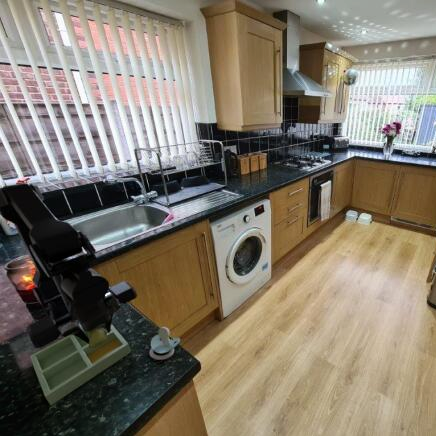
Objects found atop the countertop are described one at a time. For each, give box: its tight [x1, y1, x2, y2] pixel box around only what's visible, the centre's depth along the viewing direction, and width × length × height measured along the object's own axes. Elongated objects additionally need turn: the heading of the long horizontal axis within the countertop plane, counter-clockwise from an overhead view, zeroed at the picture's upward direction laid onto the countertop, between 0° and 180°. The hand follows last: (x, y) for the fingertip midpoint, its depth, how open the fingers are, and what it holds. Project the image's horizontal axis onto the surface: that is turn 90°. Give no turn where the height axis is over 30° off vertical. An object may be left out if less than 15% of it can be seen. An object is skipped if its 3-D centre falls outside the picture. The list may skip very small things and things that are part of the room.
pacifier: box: [148, 326, 181, 361], centre depth 61 cm, size 7×6×6 cm
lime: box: [89, 325, 107, 348], centre depth 58 cm, size 4×5×5 cm
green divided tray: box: [29, 323, 132, 406], centre depth 60 cm, size 15×15×3 cm
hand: (99, 337), depth 59 cm, fingers closed on lime, 3 cm apart
